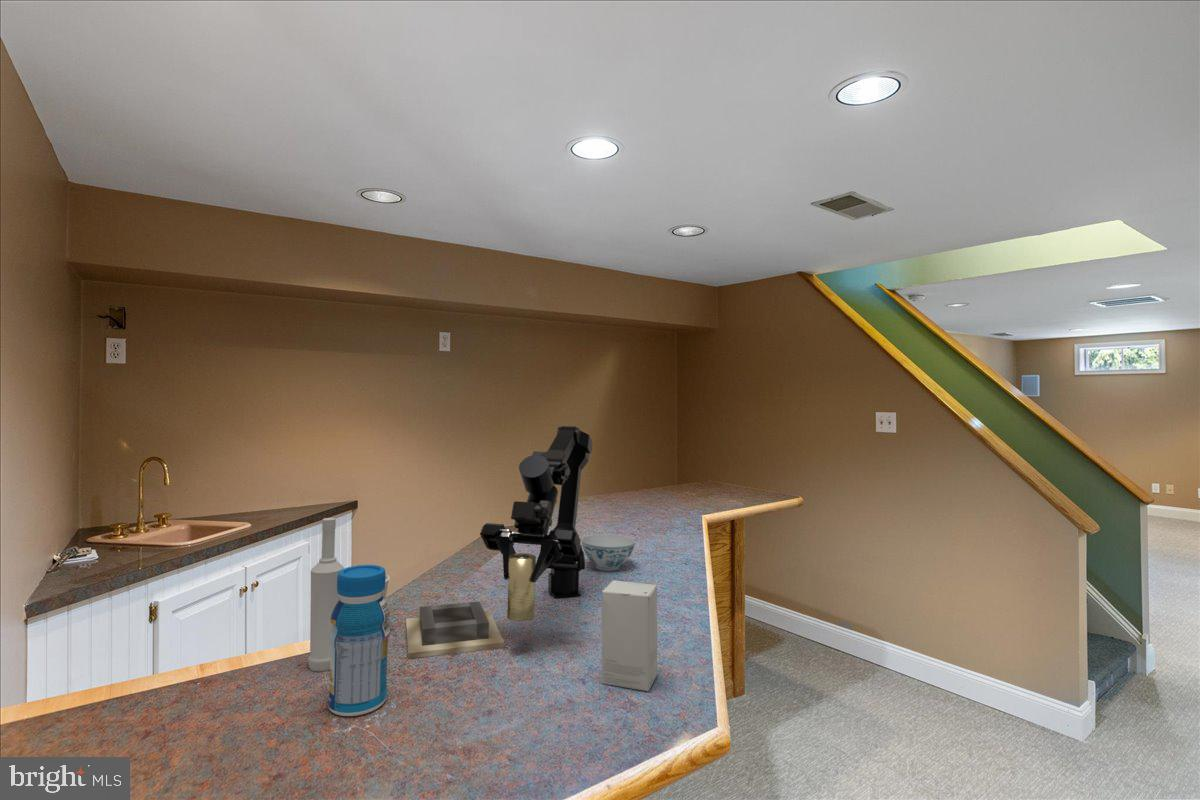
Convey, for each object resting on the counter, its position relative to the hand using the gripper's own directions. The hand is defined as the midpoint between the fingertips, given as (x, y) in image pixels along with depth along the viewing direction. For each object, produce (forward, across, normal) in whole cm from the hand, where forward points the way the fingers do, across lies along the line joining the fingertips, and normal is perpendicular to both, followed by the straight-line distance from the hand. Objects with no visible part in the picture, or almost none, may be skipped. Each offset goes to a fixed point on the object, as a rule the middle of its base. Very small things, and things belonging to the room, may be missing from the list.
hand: (519, 580), depth 105 cm
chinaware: (-32, +5, +52) cm, 61 cm away
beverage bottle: (+25, -17, -6) cm, 31 cm away
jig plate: (+6, -15, +13) cm, 21 cm away
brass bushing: (+4, 0, +6) cm, 7 cm away
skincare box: (+13, +21, +7) cm, 26 cm away
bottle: (+19, -30, +1) cm, 35 cm away
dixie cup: (+7, -33, +12) cm, 36 cm away
